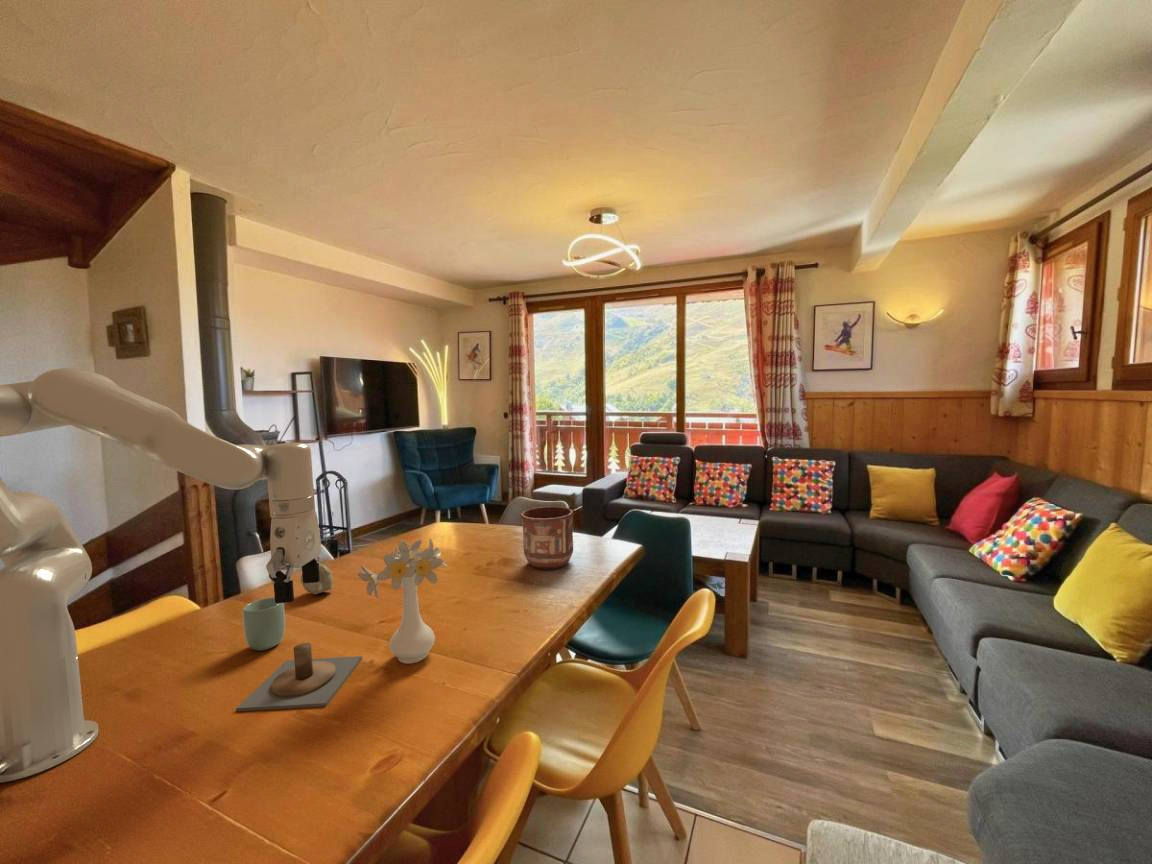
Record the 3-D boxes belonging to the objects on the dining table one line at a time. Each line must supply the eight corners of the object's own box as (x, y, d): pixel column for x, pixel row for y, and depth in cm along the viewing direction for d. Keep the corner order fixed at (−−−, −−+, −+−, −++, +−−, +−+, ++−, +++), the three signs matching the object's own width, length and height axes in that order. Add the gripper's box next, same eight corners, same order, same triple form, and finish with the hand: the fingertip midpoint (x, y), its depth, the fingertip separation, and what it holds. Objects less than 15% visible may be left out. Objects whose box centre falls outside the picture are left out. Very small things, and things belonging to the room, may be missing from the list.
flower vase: (354, 672, 96) (347, 553, 95) (424, 633, 112) (419, 530, 111) (396, 690, 90) (389, 562, 88) (464, 646, 105) (459, 537, 104)
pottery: (518, 559, 164) (516, 508, 163) (566, 553, 169) (564, 504, 168) (528, 577, 147) (526, 521, 146) (581, 569, 152) (579, 515, 151)
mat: (326, 706, 85) (326, 702, 85) (236, 711, 85) (235, 708, 85) (362, 658, 101) (361, 656, 101) (286, 662, 101) (286, 660, 100)
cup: (266, 656, 103) (263, 612, 103) (237, 653, 105) (233, 610, 104) (294, 638, 111) (291, 598, 111) (266, 636, 113) (263, 596, 112)
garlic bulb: (332, 597, 135) (330, 564, 134) (298, 603, 132) (296, 568, 131) (336, 586, 144) (334, 554, 143) (304, 591, 141) (302, 558, 140)
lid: (319, 694, 88) (317, 659, 87) (258, 698, 87) (256, 663, 87) (344, 662, 99) (343, 631, 98) (291, 666, 98) (289, 634, 98)
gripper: (287, 515, 83) (294, 609, 84) (332, 496, 100) (338, 574, 101) (243, 517, 82) (251, 612, 83) (296, 498, 99) (302, 576, 100)
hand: (298, 591), depth 92 cm, fingers open, 9 cm apart
